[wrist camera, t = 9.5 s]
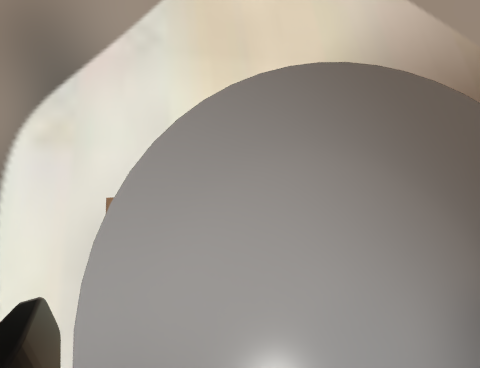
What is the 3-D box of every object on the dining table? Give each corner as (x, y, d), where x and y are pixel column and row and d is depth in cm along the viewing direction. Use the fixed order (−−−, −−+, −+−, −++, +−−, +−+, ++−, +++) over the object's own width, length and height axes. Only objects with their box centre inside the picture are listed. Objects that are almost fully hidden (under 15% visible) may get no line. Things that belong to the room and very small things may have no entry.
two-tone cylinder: (309, 430, 13) (782, 863, 3) (132, 392, 13) (-106, 716, 2) (330, 255, 15) (627, 123, 5) (182, 218, 15) (171, -3, 5)
